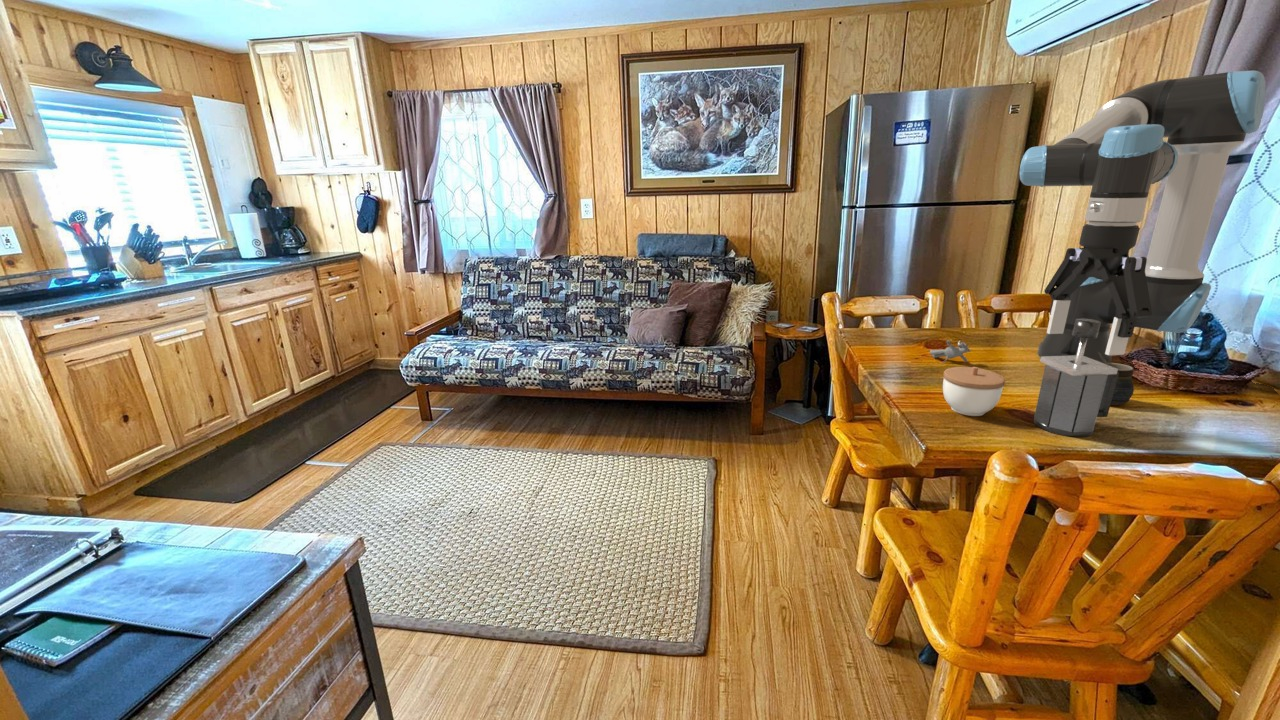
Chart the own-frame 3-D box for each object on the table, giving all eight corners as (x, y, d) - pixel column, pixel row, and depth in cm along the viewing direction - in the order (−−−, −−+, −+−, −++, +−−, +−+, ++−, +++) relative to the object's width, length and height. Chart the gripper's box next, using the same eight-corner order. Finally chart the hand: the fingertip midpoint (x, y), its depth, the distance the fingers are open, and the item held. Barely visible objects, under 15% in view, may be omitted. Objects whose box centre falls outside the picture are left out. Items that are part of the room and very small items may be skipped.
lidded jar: (927, 401, 117) (934, 360, 115) (975, 398, 118) (982, 358, 115) (959, 422, 107) (967, 378, 104) (1010, 419, 108) (1020, 375, 105)
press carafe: (1082, 415, 109) (1098, 353, 105) (1122, 435, 100) (1141, 369, 96) (1022, 417, 109) (1035, 355, 105) (1057, 438, 100) (1073, 371, 96)
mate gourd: (1119, 411, 110) (1131, 364, 107) (1077, 399, 117) (1087, 355, 114) (1137, 404, 114) (1149, 358, 111) (1094, 393, 120) (1104, 349, 117)
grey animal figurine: (944, 354, 148) (978, 350, 141) (939, 373, 146) (974, 370, 139) (924, 335, 144) (958, 330, 137) (919, 354, 142) (954, 350, 135)
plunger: (1068, 407, 106) (1090, 316, 101) (1092, 419, 101) (1116, 324, 95) (1040, 408, 106) (1060, 317, 101) (1062, 420, 101) (1085, 325, 95)
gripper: (1037, 219, 104) (1015, 326, 111) (1158, 230, 81) (1121, 365, 87) (1075, 218, 104) (1052, 325, 111) (1207, 229, 81) (1167, 364, 87)
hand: (1082, 343), depth 99 cm, fingers open, 13 cm apart
